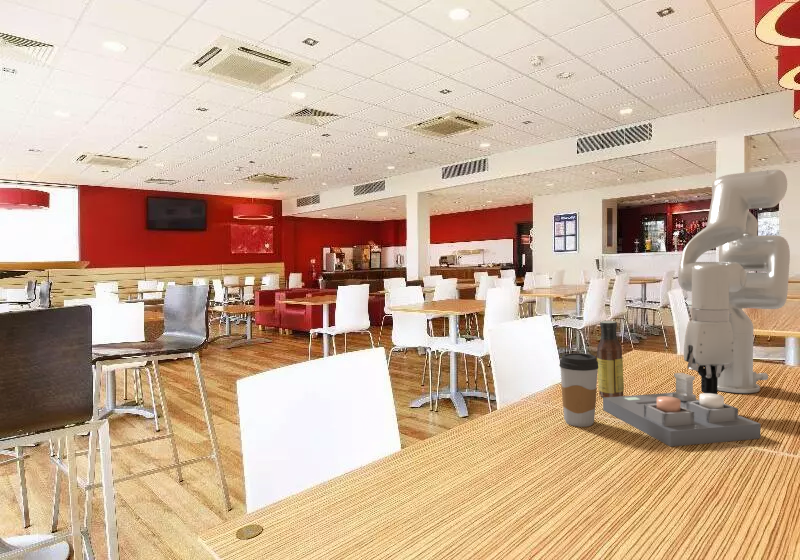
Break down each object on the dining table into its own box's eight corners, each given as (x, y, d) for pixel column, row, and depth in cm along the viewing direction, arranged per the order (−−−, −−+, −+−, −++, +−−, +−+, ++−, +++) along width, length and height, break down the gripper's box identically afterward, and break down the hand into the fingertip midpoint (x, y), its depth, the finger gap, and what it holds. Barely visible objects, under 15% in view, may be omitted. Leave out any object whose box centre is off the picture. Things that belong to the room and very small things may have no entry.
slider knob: (684, 395, 122) (684, 372, 122) (696, 400, 118) (696, 376, 118) (672, 396, 122) (672, 373, 122) (683, 401, 118) (684, 377, 118)
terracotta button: (670, 406, 109) (670, 395, 109) (685, 413, 104) (685, 401, 104) (651, 408, 108) (652, 397, 108) (665, 414, 104) (665, 402, 104)
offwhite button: (712, 403, 110) (712, 392, 110) (728, 409, 106) (729, 398, 106) (694, 404, 110) (694, 393, 109) (709, 411, 105) (710, 399, 105)
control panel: (677, 404, 127) (678, 382, 126) (760, 438, 103) (760, 411, 103) (603, 409, 124) (603, 387, 123) (670, 446, 100) (670, 418, 100)
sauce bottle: (619, 393, 137) (619, 319, 136) (627, 399, 131) (627, 323, 130) (594, 393, 138) (594, 320, 137) (601, 399, 132) (600, 323, 131)
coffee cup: (600, 418, 117) (599, 353, 116) (597, 430, 110) (597, 361, 109) (562, 414, 121) (561, 351, 120) (557, 425, 113) (556, 358, 112)
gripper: (725, 313, 125) (724, 387, 126) (670, 315, 123) (669, 391, 124) (751, 316, 118) (750, 395, 119) (692, 319, 115) (692, 399, 116)
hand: (709, 393), depth 121 cm, fingers closed
